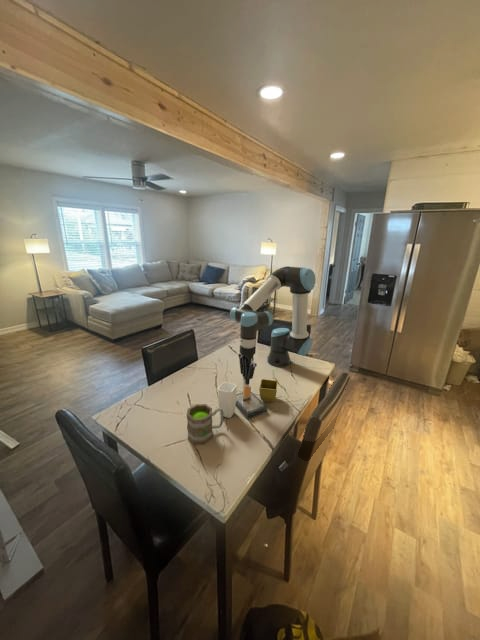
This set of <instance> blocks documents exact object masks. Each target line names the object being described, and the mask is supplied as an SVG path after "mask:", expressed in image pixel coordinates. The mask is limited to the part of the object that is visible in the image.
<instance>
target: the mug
mask: <svg viewBox="0 0 480 640" xmlns="http://www.w3.org/2000/svg"><path fill="white" fill-rule="evenodd" d="M186 411H187V412H186V419H187V421H186V422H187V441H189V442H190V443H191V444H192V445H195V446H198V445H199V446H200V445H201V446H202V445H203V446H204V445H205V444H207V443H209V442H210V441H212V440H213V429H220V428H221V427H222V426H223V423H224V416H223V410H222V408H219V407H217V408H215V409H214V411H213V408H212V407H210V406H209V405H208V404H206V403H205V404H204V403H198V404H197V403H196V404H194V405H192V406H191V407H188V409H187V410H186ZM219 411H221V415H220V422H219V424H213V416H215V415H217V413H218V412H219Z"/></svg>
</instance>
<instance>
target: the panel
mask: <svg viewBox="0 0 480 640" xmlns="http://www.w3.org/2000/svg"><path fill="white" fill-rule="evenodd" d="M250 395H251V398H248V399H245V400H243V399H242V397H243V391H242V392H239V393H236V406H235V408H237V410H239V412H240V413H241V414H242V415H243V416H244V417H245V418H246V420H250V419H253V418H255V417H257V416H259V415H263V414H265V413H267V412H268V406H267V404H265V403H264V401H262V399H261V398H259V397H258V396H256V395H255V394H254V393H253V392H252V391H251V394H250Z"/></svg>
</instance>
